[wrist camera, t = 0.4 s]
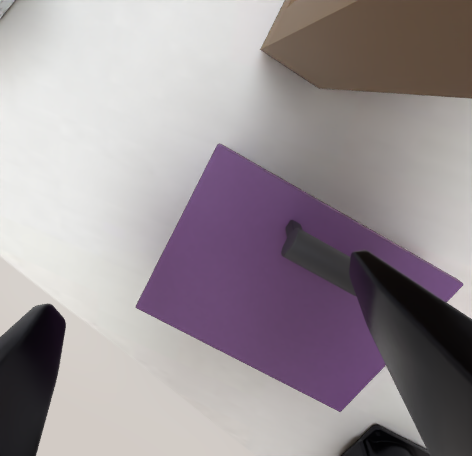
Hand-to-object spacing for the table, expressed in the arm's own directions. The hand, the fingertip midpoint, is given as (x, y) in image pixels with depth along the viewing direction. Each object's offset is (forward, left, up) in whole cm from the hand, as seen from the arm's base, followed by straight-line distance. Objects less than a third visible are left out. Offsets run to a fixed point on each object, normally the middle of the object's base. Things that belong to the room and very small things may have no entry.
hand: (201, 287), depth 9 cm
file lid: (-6, +4, -10) cm, 12 cm away
